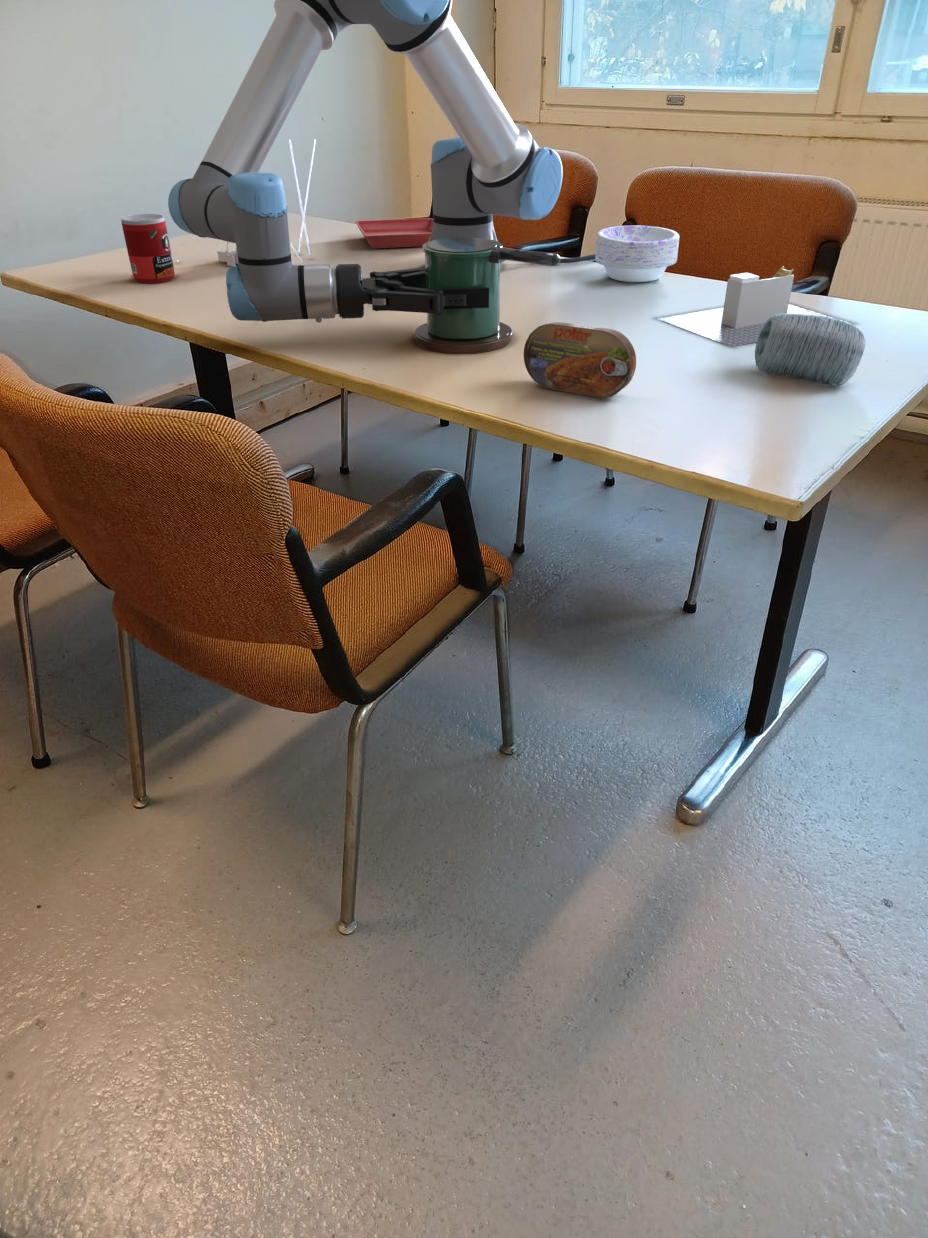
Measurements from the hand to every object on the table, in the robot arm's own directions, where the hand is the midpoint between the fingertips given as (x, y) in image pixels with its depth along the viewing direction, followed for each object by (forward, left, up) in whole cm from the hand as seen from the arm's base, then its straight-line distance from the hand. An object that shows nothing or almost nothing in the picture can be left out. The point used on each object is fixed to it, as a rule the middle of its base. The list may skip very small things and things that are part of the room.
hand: (483, 287), depth 132 cm
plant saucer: (-20, -74, -8) cm, 77 cm away
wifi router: (+13, -73, -8) cm, 75 cm away
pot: (0, +3, -6) cm, 7 cm away
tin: (+1, +27, -8) cm, 28 cm away
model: (-42, +14, -8) cm, 45 cm away
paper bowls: (-44, -20, -8) cm, 49 cm away
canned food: (+36, -66, -8) cm, 76 cm away
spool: (-28, +38, -8) cm, 48 cm away
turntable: (+3, -1, -7) cm, 8 cm away
